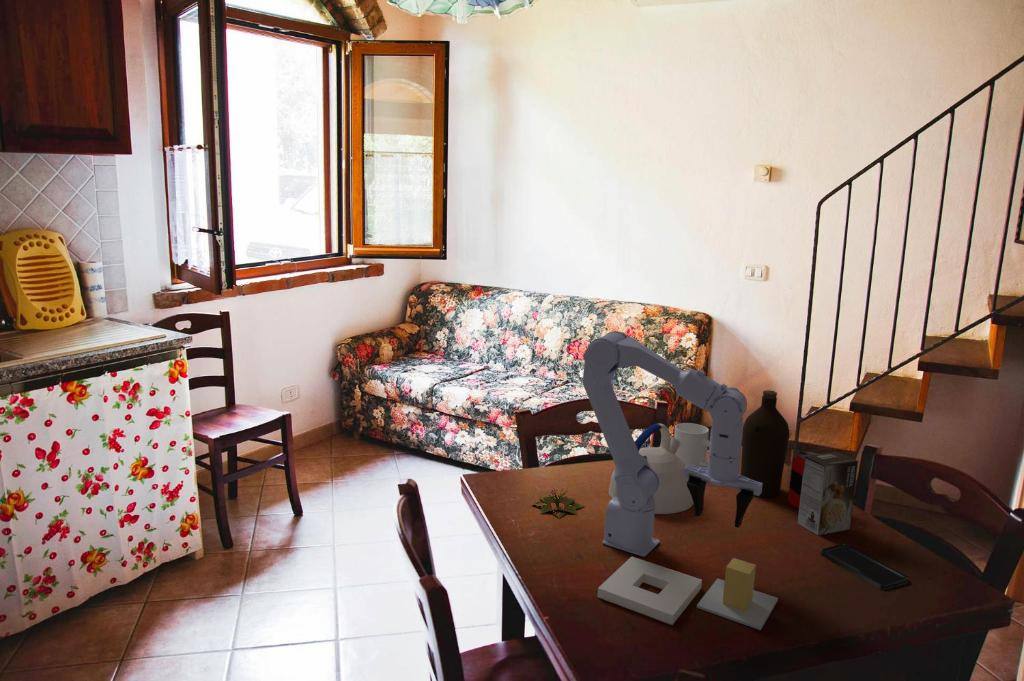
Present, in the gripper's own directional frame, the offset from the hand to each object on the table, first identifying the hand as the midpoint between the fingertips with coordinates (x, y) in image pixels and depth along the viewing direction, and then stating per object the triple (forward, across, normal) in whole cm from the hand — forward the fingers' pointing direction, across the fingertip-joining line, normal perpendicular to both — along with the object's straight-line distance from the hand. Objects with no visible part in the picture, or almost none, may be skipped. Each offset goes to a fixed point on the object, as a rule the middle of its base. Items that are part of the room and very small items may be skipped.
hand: (718, 520), depth 138 cm
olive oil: (+10, -3, +43) cm, 44 cm away
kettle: (+10, -23, +23) cm, 34 cm away
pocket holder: (+9, -6, -17) cm, 20 cm away
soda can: (+10, +8, +41) cm, 43 cm away
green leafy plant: (+10, -38, +4) cm, 39 cm away
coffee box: (+10, +14, +31) cm, 35 cm away
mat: (+9, +8, -11) cm, 17 cm away
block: (+9, +8, -11) cm, 16 cm away
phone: (+10, +24, +17) cm, 31 cm away
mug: (+10, -21, +46) cm, 51 cm away
